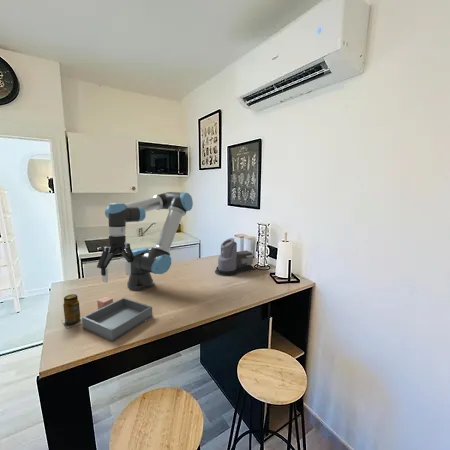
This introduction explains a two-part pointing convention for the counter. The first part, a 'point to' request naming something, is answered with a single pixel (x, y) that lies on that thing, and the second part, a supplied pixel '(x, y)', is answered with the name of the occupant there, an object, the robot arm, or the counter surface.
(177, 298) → the counter surface
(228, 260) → the juicer
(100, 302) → the cube
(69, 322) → the condiment
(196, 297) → the counter surface
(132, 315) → the tote
